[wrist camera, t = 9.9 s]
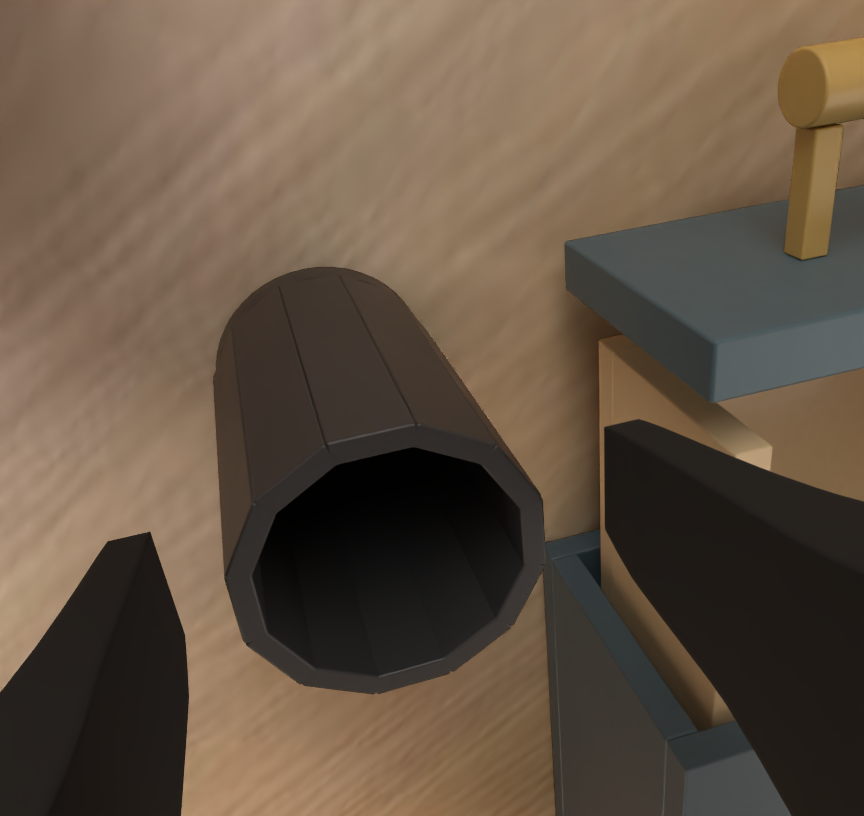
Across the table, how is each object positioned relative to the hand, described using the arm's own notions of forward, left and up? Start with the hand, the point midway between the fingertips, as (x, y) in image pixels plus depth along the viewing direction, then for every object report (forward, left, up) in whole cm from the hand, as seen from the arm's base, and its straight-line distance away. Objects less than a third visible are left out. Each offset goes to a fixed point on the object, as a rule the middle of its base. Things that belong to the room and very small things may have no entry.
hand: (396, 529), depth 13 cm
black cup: (0, +1, -8) cm, 8 cm away
